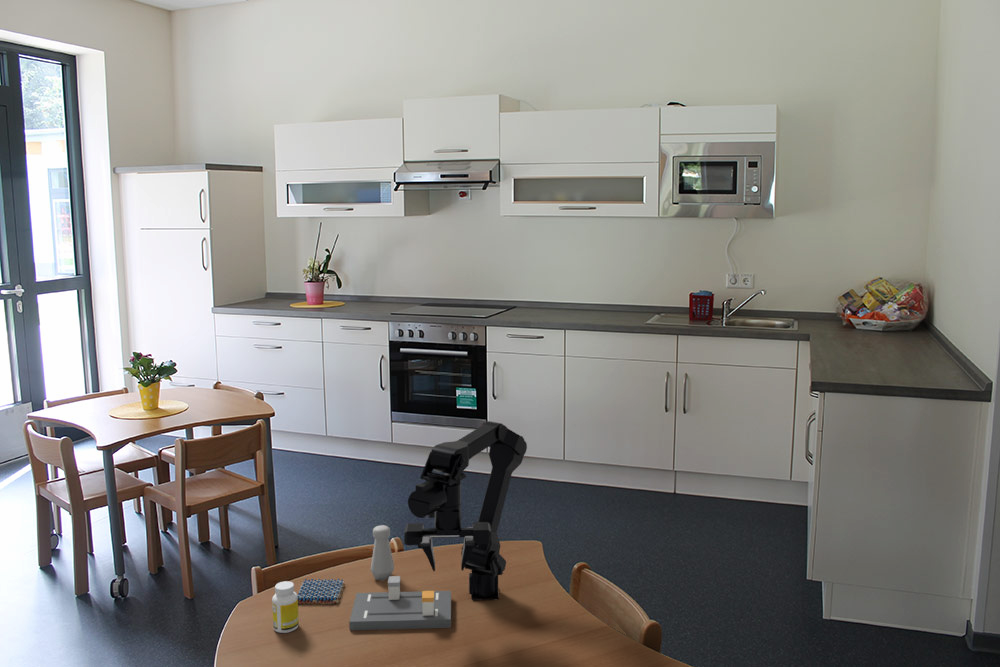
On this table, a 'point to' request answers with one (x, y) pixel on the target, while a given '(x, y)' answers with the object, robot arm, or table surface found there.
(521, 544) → the table surface
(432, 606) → the orange fader
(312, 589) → the woven mat
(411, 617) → the console
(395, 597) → the grey fader
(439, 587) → the table surface
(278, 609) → the supplement bottle
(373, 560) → the salt shaker
